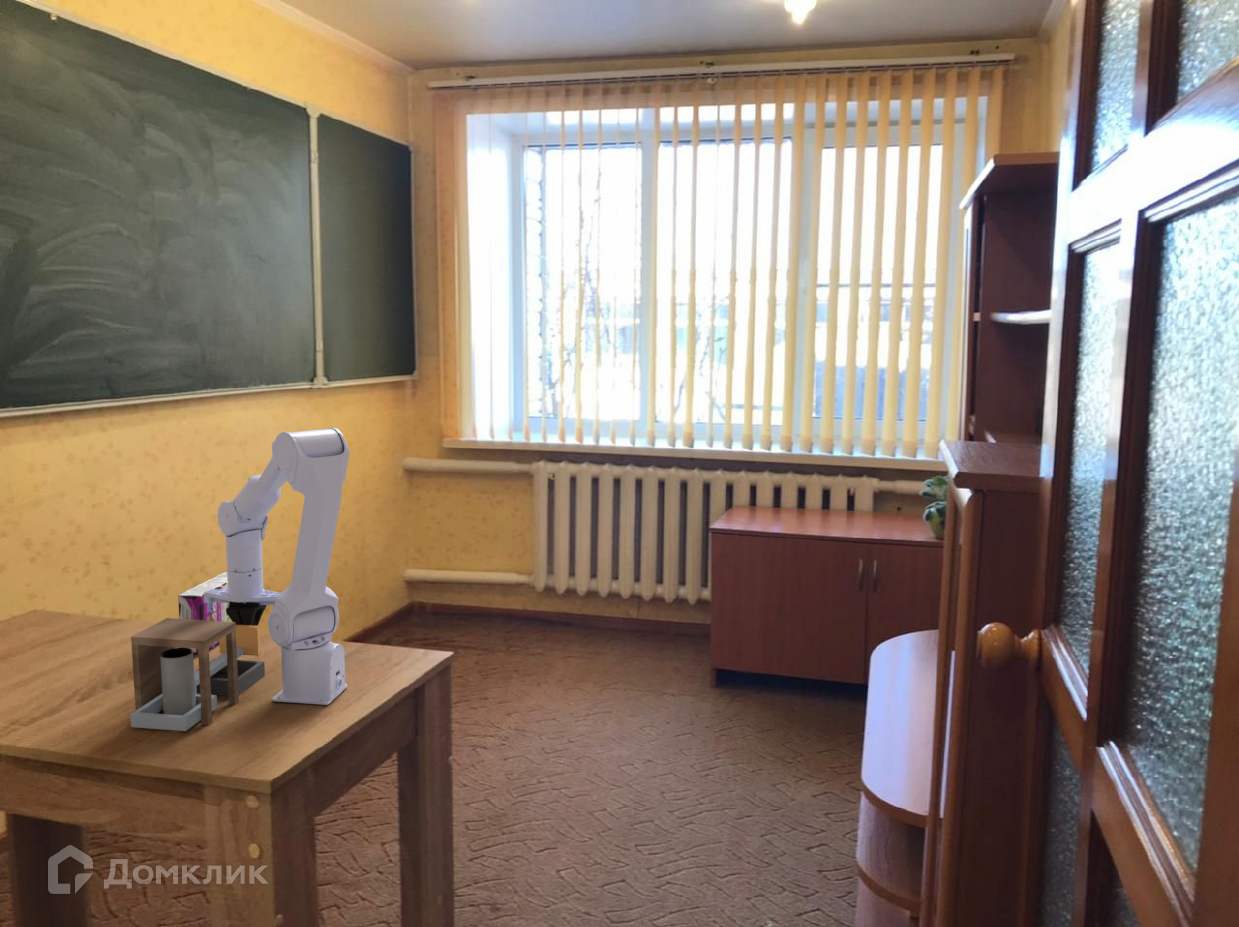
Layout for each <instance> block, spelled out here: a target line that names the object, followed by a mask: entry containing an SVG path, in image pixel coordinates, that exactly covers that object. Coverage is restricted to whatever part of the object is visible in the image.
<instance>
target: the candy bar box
mask: <svg viewBox="0 0 1239 927" xmlns="http://www.w3.org/2000/svg"><path fill="white" fill-rule="evenodd" d="M209 589H228V579H227V571H225V572H221V573H220V574H218V575H215V576H214V577H212V578H210V579H208V580H206V581H204V582H202V583H200V584H197V585H196V586H194V587H192V588H190V589H187V590H186V591H184V592H182V593H179V594H178V595H177V596H178V597H177V598H178V619H190V620H206V621H223V622H232V620H231V619H230V617H229V616H228V615H227V613H226V608H228V607H229V603H221V602H211V603H204V592H205V591H207V590H209ZM217 646H219V640H218V641H217V642H215V643H213V644H212V645H210V646H209V651H211V650H213V649H214V648H215V647H217ZM190 649H192V650H193V654H197V655H198V649H196V648H190Z"/></svg>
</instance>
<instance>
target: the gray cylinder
mask: <svg viewBox="0 0 1239 927" xmlns="http://www.w3.org/2000/svg"><path fill="white" fill-rule="evenodd" d="M160 661H161V678H162V696H163V711H162V712H163V713H162V714H168V715H182V716H183V715H185V714H186V713H187V712H189V711H190V710H192V709H193V708H194V707H196V697H195V678H194V672H195V663H194V653H193V650H192V649H190V648H180V647H174V648H173V649H169V650H166V651H164V652H162V653H161V654H160Z"/></svg>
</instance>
